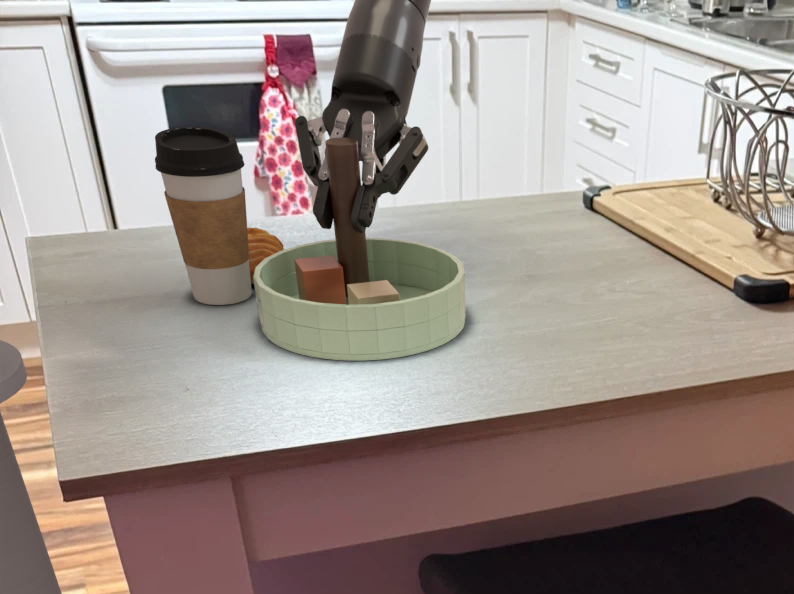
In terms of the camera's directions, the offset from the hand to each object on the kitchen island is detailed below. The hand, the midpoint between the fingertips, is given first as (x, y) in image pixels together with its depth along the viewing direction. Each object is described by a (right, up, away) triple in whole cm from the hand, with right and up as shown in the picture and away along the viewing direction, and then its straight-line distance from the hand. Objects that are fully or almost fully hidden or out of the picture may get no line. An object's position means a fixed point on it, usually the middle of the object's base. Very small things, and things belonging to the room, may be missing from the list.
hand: (340, 225), depth 101 cm
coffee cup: (-14, -3, +9) cm, 17 cm away
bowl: (+2, -8, +4) cm, 9 cm away
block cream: (+3, -10, 0) cm, 11 cm away
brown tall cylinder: (0, -4, +6) cm, 7 cm away
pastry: (-12, +1, +14) cm, 18 cm away
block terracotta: (-3, -5, +6) cm, 8 cm away
